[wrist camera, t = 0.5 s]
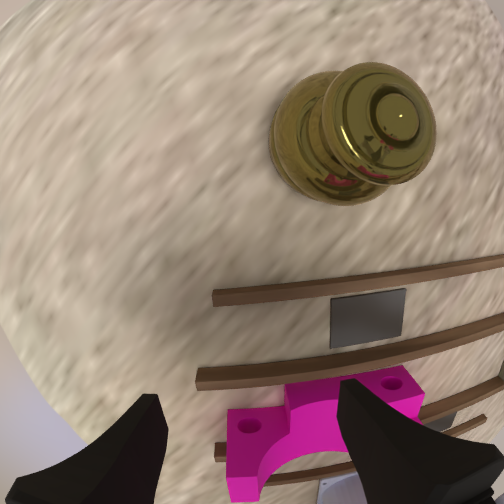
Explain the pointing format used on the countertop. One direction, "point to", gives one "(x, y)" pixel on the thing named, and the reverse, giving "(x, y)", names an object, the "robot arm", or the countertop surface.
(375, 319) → the wooden slat rack
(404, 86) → the gold tapered round piece
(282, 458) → the magenta curved bracket
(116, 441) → the robot arm
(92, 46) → the countertop surface
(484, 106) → the countertop surface
